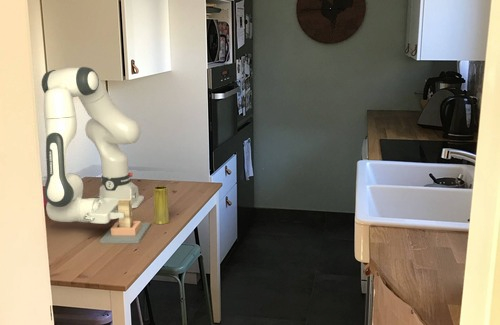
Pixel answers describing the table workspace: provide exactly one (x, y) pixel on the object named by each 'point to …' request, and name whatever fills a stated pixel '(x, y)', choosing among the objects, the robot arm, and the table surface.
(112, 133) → the robot arm
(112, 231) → the socket board
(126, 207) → the oak post
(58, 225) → the table surface
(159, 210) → the vase
